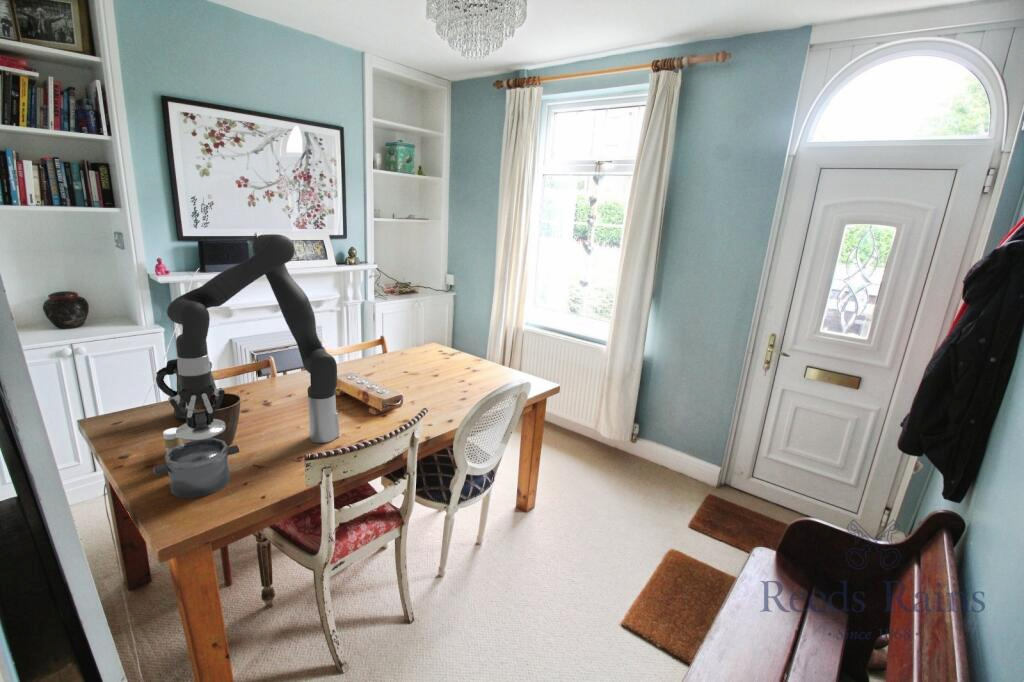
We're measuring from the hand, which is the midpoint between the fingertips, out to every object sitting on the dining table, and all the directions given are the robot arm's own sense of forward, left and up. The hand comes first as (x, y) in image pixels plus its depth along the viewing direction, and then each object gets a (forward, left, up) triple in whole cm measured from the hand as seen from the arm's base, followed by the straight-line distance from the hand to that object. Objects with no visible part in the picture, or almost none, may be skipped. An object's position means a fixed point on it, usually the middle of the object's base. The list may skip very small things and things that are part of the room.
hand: (200, 425), depth 136 cm
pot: (+1, -2, -20) cm, 20 cm away
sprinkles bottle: (+5, -15, -20) cm, 25 cm away
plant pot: (-9, -25, -20) cm, 33 cm away
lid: (0, 0, -2) cm, 2 cm away
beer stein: (-7, -53, -20) cm, 57 cm away
